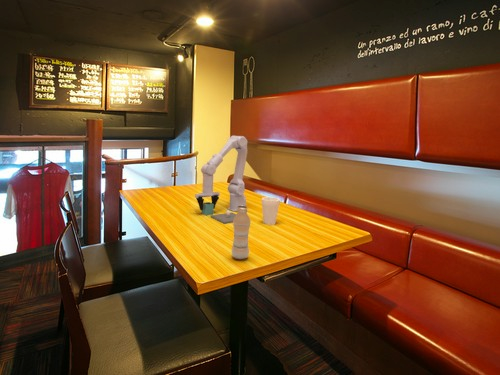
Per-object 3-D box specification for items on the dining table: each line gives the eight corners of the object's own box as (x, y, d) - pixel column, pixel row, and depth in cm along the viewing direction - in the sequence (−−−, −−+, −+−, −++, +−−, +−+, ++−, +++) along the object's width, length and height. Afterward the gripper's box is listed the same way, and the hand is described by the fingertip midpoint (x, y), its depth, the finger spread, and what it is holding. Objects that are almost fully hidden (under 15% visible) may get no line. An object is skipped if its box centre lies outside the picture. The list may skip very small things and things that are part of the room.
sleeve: (208, 212, 184) (209, 202, 183) (213, 214, 180) (213, 203, 179) (201, 213, 181) (201, 203, 180) (205, 215, 178) (205, 204, 176)
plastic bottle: (238, 253, 126) (240, 203, 122) (252, 257, 122) (254, 207, 118) (227, 258, 121) (229, 206, 117) (242, 263, 117) (244, 210, 113)
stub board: (231, 214, 183) (232, 206, 182) (246, 220, 172) (246, 212, 171) (210, 217, 174) (210, 209, 173) (224, 223, 163) (224, 215, 162)
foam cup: (280, 222, 171) (281, 198, 169) (275, 226, 163) (277, 201, 160) (263, 219, 174) (264, 196, 172) (258, 224, 166) (259, 199, 163)
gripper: (199, 187, 171) (199, 212, 173) (222, 186, 179) (221, 209, 182) (193, 185, 176) (193, 209, 179) (216, 183, 185) (215, 206, 187)
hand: (207, 209), depth 180 cm, fingers open, 7 cm apart
